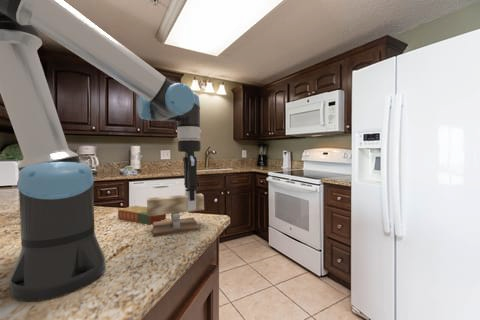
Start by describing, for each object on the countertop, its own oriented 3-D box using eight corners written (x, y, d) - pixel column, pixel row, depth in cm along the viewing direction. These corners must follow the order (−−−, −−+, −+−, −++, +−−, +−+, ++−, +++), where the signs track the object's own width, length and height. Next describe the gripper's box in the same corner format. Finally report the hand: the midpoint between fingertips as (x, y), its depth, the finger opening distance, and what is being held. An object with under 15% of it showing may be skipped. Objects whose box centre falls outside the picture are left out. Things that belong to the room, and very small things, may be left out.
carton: (135, 215, 94) (135, 204, 94) (166, 219, 87) (166, 208, 87) (117, 220, 86) (117, 209, 86) (149, 226, 80) (149, 214, 79)
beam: (147, 216, 72) (146, 200, 72) (147, 213, 76) (147, 198, 75) (204, 209, 78) (203, 195, 78) (201, 207, 82) (201, 193, 82)
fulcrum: (199, 230, 74) (199, 214, 74) (153, 236, 69) (153, 219, 69) (193, 220, 85) (193, 205, 85) (153, 224, 80) (152, 209, 80)
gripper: (205, 139, 71) (207, 213, 72) (195, 141, 87) (197, 201, 88) (180, 138, 68) (182, 216, 69) (175, 141, 84) (177, 203, 85)
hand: (190, 208), depth 79 cm, fingers closed on beam, 4 cm apart
